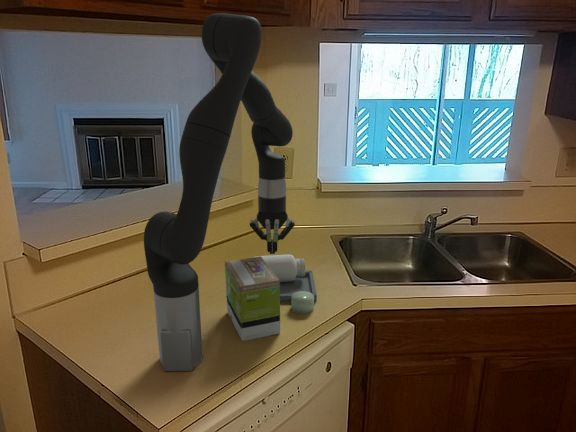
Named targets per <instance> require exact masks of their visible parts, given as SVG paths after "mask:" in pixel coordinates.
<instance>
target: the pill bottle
mask: <svg viewBox="0 0 576 432" xmlns="http://www.w3.org/2000/svg"><path fill="white" fill-rule="evenodd" d="M260 256H261V257H262V259H263V260H264V261H265V263H266V264H267V265H268V266H269V268H270V269H271V270H272V271H273V273H274V274H275V275H276V276H277V278H278V279H279V280H280V282H291V281H293V280H295V278H296V276H300V277H302V276H305V271H307V270H306V262H305V259H304V258H295V256H294V255H292V254H289V253H288V254H277V255H276V254H270V255H258V256H252V258H254V257H260Z"/></svg>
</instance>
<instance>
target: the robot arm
mask: <svg viewBox="0 0 576 432" xmlns="http://www.w3.org/2000/svg"><path fill="white" fill-rule="evenodd" d="M201 43H202V46H203V48H204V50H205V52H206V54H207V56H208V57H209V59H210V60H211V61H212V62H213V64H214V65H215V66H216V68H217V69H218V70H219V72H220V73H221V77H220V78H219V80H218V81H217V83H216V84H215V85H214V86H213V87H212V89H210V90H209V91H208V93H206V94H205V96H203V98H202V99H200V101H198V103H196V105H195V106H194V107H193V108H192V109H191V111H190V112H189V114H188V116H187V118H186V122H185V125H184V129H183V131H182V135H181V138H180V142H179V148H178V151H179V152H178V155H179V164H180V165H179V166H180V171H181V176H182V194H181V195H182V196H181V199H180V203H179V207H178V210H177V213H173V212H170V211H159V212H156V213H155V214H153V215H152V216H151V217H150V218H149V219H148V221H147V223H146V224H145V228H144V231H143V232H144V233H143V248H144V250H143V251H144V255H145V264H146V269H147V271H146V272H147V275H148V278H149V280H150V282H151V284H152V289H153V297H154V298H153V299H154V309H155V310H154V311H155V320H156V321H155V322H156V333H157V344H158V353H159V354H158V356H159V363H160V366H161V367H162V371H163V372H187V371H188V372H192V371H193V370H194V368H195V367H197V366H198V365H199V364H200V363H201V362H202V361H203V357H204V356H203V355H204V354H203V340H202V325H201V323H202V322H201V306H200V287H199V286H200V285H199V284H200V283H199V276H198V272H196V270H195V269H194V268H193V267H192V266H191V264H190V263H191V262H193V261H195V259H196V258H197V257H198V255H199V254H200V253H201V250H202V248H203V246H204V244H205V238H206V235H207V230H208V224H209V218H210V213H211V207H212V203H213V199H214V194H215V190H216V186H217V184H218V183H217V182H218V179H219V175H220V172H221V168H222V164H223V161H224V159H225V155H226V152H227V149H228V145H229V141H230V138H231V137H232V136H231V135H232V131H233V127H234V123H235V119H236V117H237V113H238V111H239V106H240V104H241V103H242V105H243V107H244V109H245V112H246V113H247V115H248V117H249V119H250V120H251V122H252V123H253V124H252V125H251V130H250V132H251V139H252V143H253V145H254V146H253V147H254V149H255V153H256V156H257V161H258V162H257V163H258V184H257V193H258V194H257V199H258V200H257V207H258V210H257V214H256V217H255V218H253V219H251V220H250V221H249V226H250V228H251V229H252V230H253V232H254V233H255V234H256V235H257V236H258V237H259V239H260V240H261V241H262V240H263V241H264V240H265V241H266V250H267V252H268V253H269V254H270V255H276V254H275V253H277V252H278V241H279V240H280V241H281V240H284V239H285V238H286V237H287V236H288V234H289V233H290V232H291V231H292V230H293V228H294V227H295V225H296V224H295V223H296V222H295V220H294V219H291V218H289V216H288V213H287V182H286V158H285V157H284V156H283V155H281V154H280V153H279V154H278V153H276V152H273V151H272V150H271V148H270V147H286V146H287V145H288V144H290V143H291V140H292V139H293V135H294V134H293V133H294V132H293V126H292V124H291V122H290V120H289V118H287V117H286V115H285V114H284V113H283V112H282V111H281V109H280V108H278V106H276V103H275V101H274V99H273V95H272V93H271V91H270V89H269V88H268V86H267V84H266V83H265V82H264V81H263V80H262V79H261V78H260V77H259V76H258V75H257V74H256V73H255V72H254V71H253V69H254V67H255V64H256V61H257V59H258V55H259V53H260V50H261V44H262V26H261V24H260V22H259V20H258V19H257V18H255V17H253V16H250V15H245V14H243V15H242V14H233V13H225V12H224V13H222V12H221V13H212V14H209V16H207V17H206V19H205V20H204V21H203V25H202V28H201ZM284 224H285V227H284V228H283V229H282V230H281V231H280V233H279V230H280V229H281V228H282V227H283V225H284ZM260 225H261V227H263V229H264V230H265V232H264V230H262V229H261V227H260ZM272 230H273V236H272Z"/></svg>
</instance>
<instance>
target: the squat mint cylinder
mask: <svg viewBox="0 0 576 432" xmlns="http://www.w3.org/2000/svg"><path fill="white" fill-rule="evenodd" d="M290 303H291V306H290V307H291V310H292V311H293V312H295V313H297V314H303V315H304V314H309V313H312V312H313V311H314V309H315V301H314V295H313V294H312V293H310V292H306V291H299V292H295V293H293V294H292V296H291V302H290Z"/></svg>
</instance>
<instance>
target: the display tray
mask: <svg viewBox="0 0 576 432" xmlns="http://www.w3.org/2000/svg"><path fill="white" fill-rule="evenodd" d="M299 291H306V292H310V293H312V294H313V295H314V302H317V297H318V296H317V289H316V284H315V279H314V273H313V270H306V271H305V276H302V277H300V276H296V278H295V280H293V281H291V282H280V303H281V302H283V303H284V302H285V303H287V302H290V303H291V296H292V294H293V293H295V292H299Z"/></svg>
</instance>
